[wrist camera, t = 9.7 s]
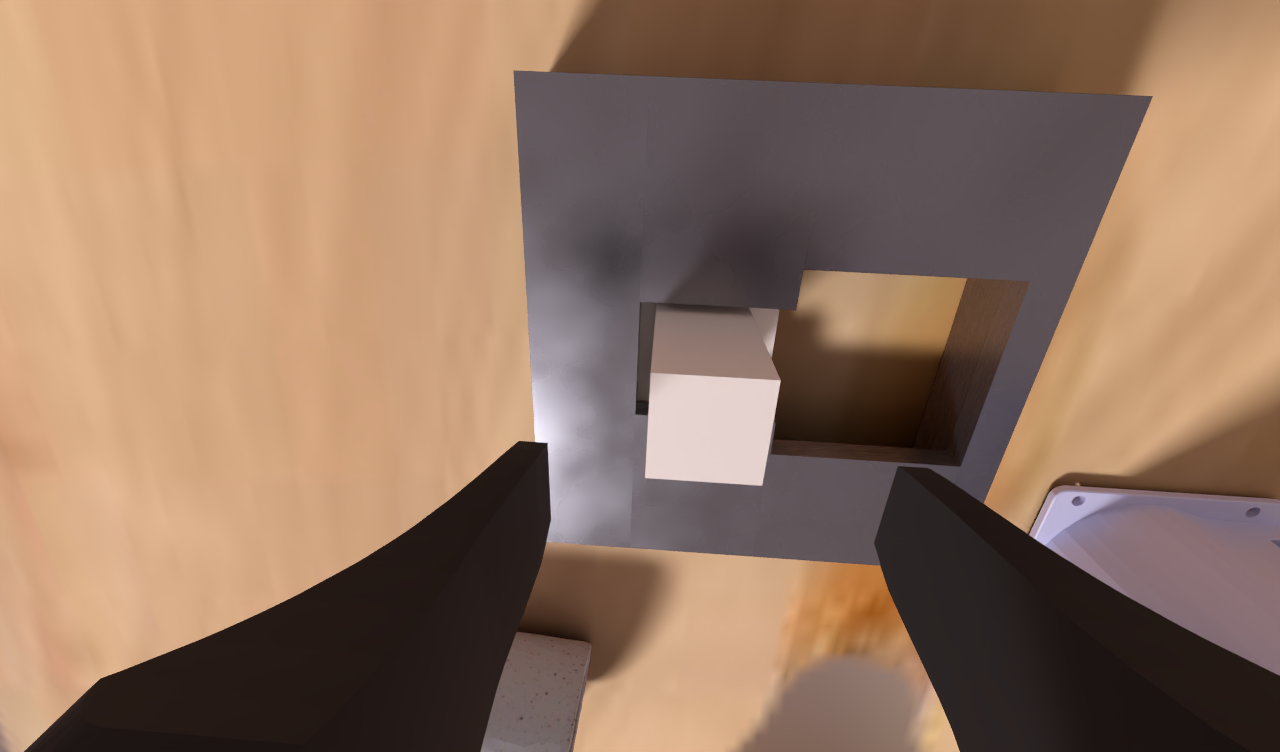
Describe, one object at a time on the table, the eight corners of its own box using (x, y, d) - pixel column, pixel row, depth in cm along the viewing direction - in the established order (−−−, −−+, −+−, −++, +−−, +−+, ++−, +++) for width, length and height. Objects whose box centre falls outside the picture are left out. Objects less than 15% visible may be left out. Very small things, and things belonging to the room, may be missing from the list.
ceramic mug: (440, 588, 27) (360, 750, 20) (596, 610, 27) (570, 779, 20) (449, 709, 32) (387, 872, 25) (582, 727, 32) (556, 895, 25)
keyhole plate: (1057, 102, 16) (1152, 96, 13) (916, 509, 23) (955, 570, 20) (543, 81, 16) (513, 70, 13) (558, 485, 23) (541, 541, 20)
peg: (778, 252, 18) (847, 332, 11) (757, 389, 21) (802, 526, 14) (625, 245, 19) (597, 318, 11) (622, 381, 21) (596, 512, 14)
